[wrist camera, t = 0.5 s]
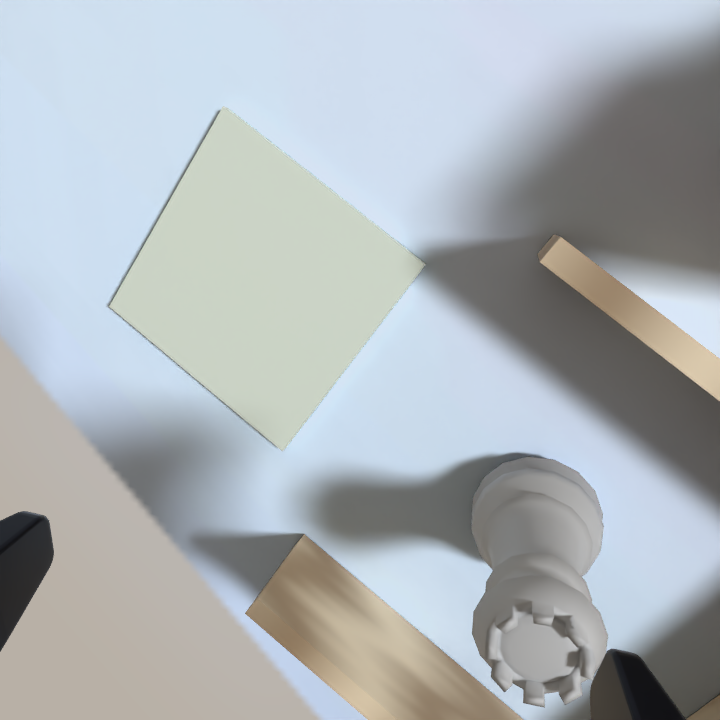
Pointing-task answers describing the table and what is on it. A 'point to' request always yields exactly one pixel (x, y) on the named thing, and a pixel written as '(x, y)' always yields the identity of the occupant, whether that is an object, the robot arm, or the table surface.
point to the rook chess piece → (538, 578)
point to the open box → (383, 624)
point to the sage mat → (262, 280)
